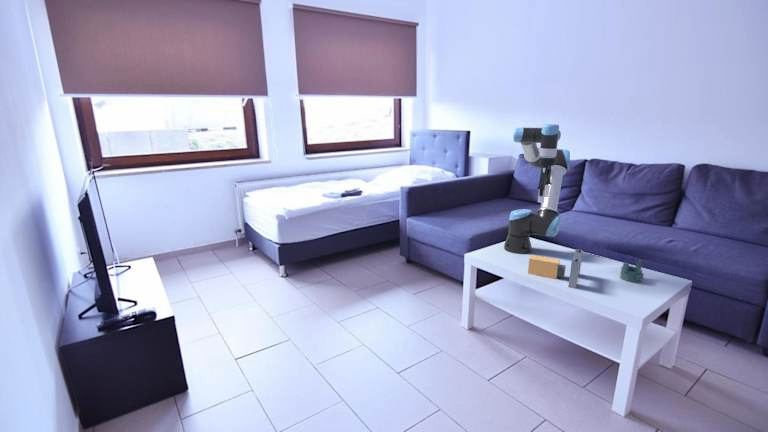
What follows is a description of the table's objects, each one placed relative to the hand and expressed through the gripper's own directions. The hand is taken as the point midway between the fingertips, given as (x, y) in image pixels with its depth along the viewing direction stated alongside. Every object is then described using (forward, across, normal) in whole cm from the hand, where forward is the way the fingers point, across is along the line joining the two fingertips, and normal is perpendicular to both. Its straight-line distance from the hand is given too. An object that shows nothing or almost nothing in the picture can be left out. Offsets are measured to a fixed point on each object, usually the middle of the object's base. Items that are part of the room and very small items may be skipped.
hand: (543, 199), depth 193 cm
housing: (+35, +11, +19) cm, 41 cm away
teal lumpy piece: (+35, -4, +42) cm, 55 cm away
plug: (+35, +11, +6) cm, 37 cm away
